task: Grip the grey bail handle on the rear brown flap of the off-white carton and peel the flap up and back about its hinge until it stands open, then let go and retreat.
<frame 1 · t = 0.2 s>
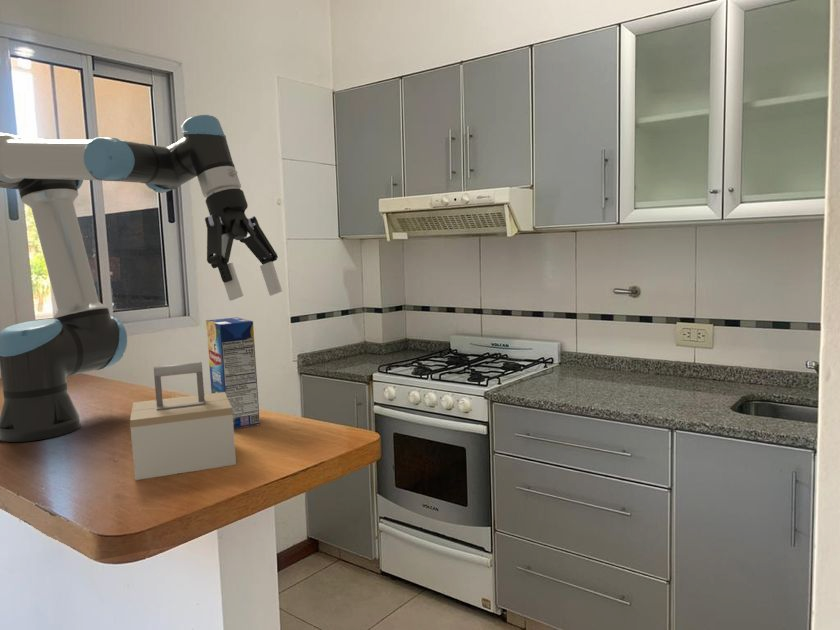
hand: (257, 295, 127), 28 cm above the table, tool tilted 20°, fingers open, 13 cm apart
carton: (185, 459, 115), on the table
rear flap: (179, 384, 117), point 13 cm above the table, hinge at 0.0°
beverage box: (236, 422, 139), on the table
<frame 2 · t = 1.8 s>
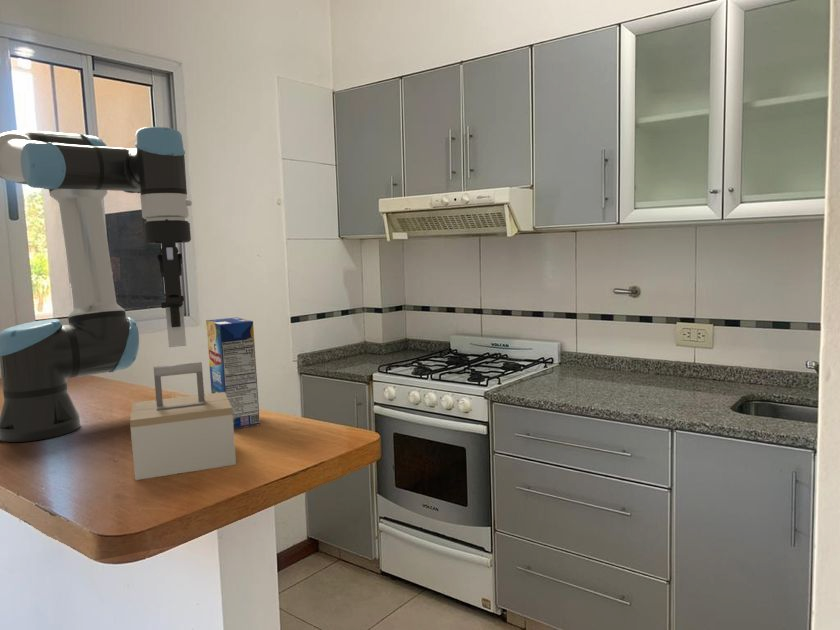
hand: (176, 341, 114), 21 cm above the table, tool pointing down, fingers open, 13 cm apart
nothing on the table moved.
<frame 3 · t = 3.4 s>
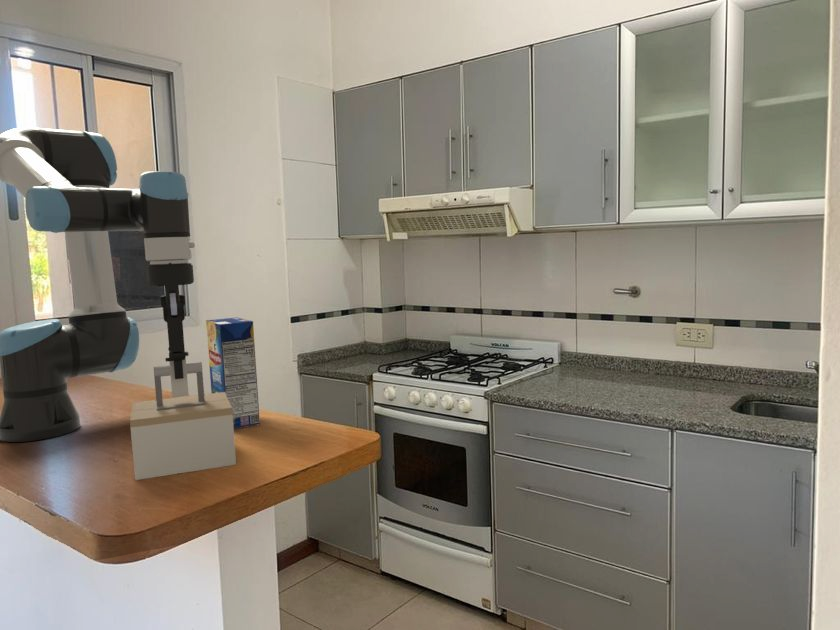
hand: (180, 394, 115), 12 cm above the table, tool pointing down, fingers closed on rear flap, 2 cm apart
rear flap: (179, 384, 117), point 13 cm above the table, hinge at 0.0°, touching gripper
everything else where it was.
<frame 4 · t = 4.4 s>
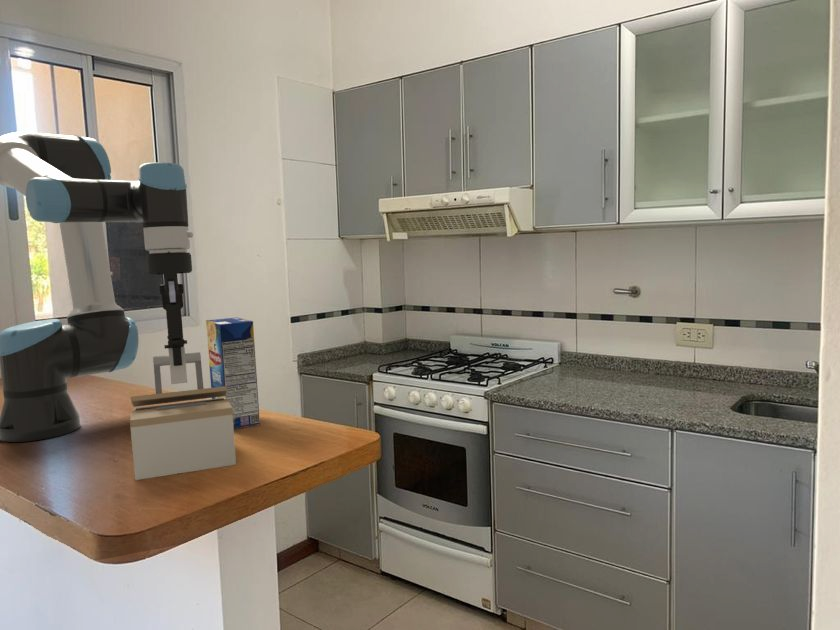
hand: (179, 381, 117), 13 cm above the table, tool pointing down, fingers closed on rear flap, 2 cm apart
rear flap: (178, 377, 118), point 14 cm above the table, hinge at 20.6°, touching gripper
everything else where it was.
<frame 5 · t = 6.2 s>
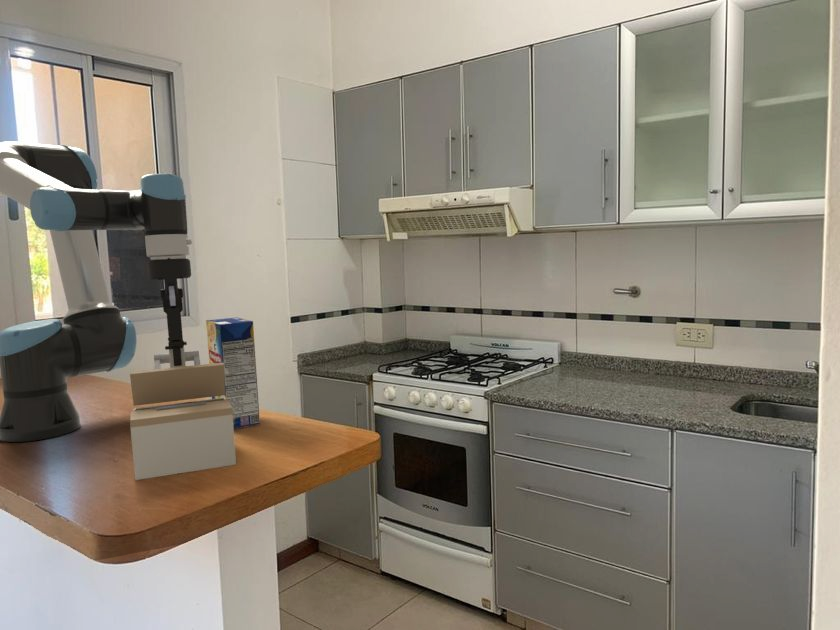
hand: (179, 381, 124), 12 cm above the table, tool pointing down, fingers closed on rear flap, 2 cm apart
rear flap: (178, 374, 122), point 14 cm above the table, hinge at 69.4°, touching gripper
everything else where it was.
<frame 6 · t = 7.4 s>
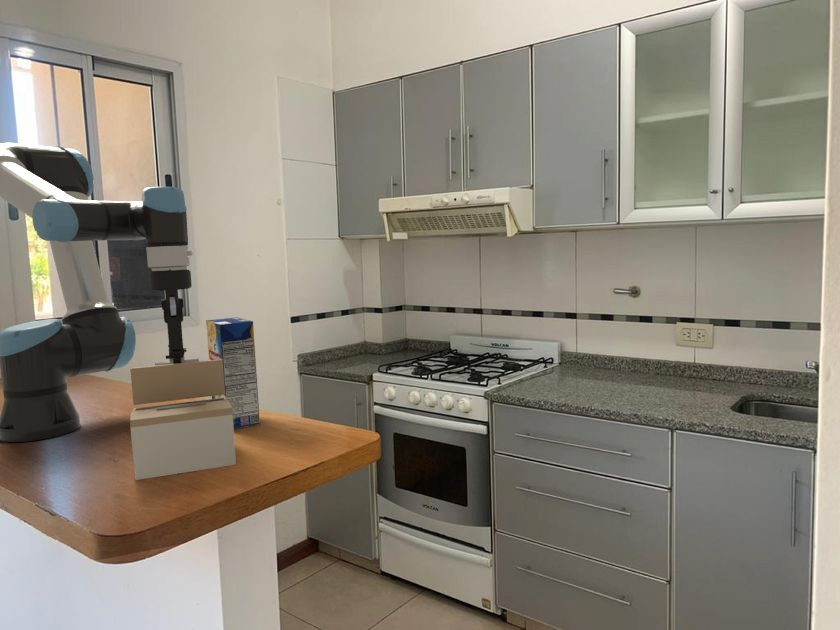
hand: (179, 388, 126), 10 cm above the table, tool pointing down, fingers open, 4 cm apart
rear flap: (178, 378, 123), point 13 cm above the table, hinge at 89.5°
everything else where it was.
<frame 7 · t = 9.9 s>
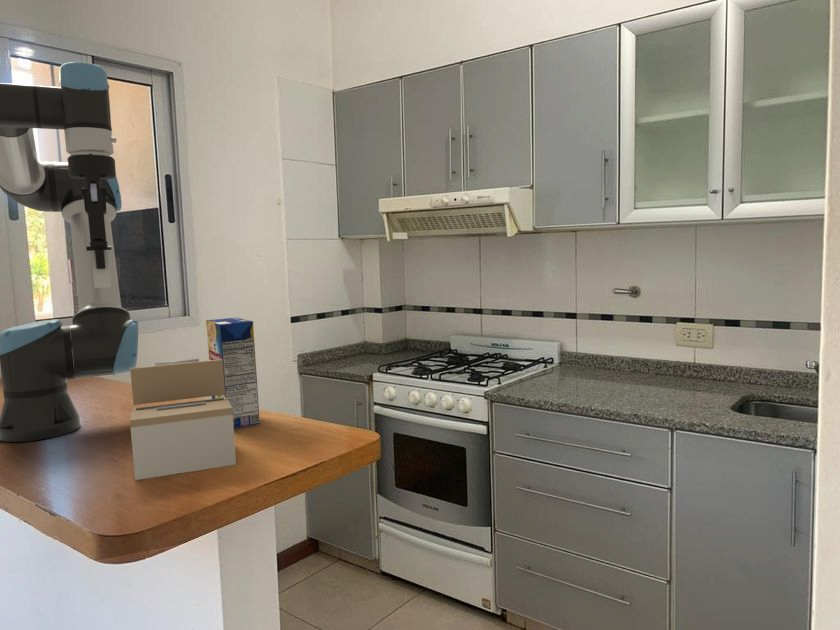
hand: (102, 286, 117), 31 cm above the table, tool pointing down, fingers open, 5 cm apart
nothing on the table moved.
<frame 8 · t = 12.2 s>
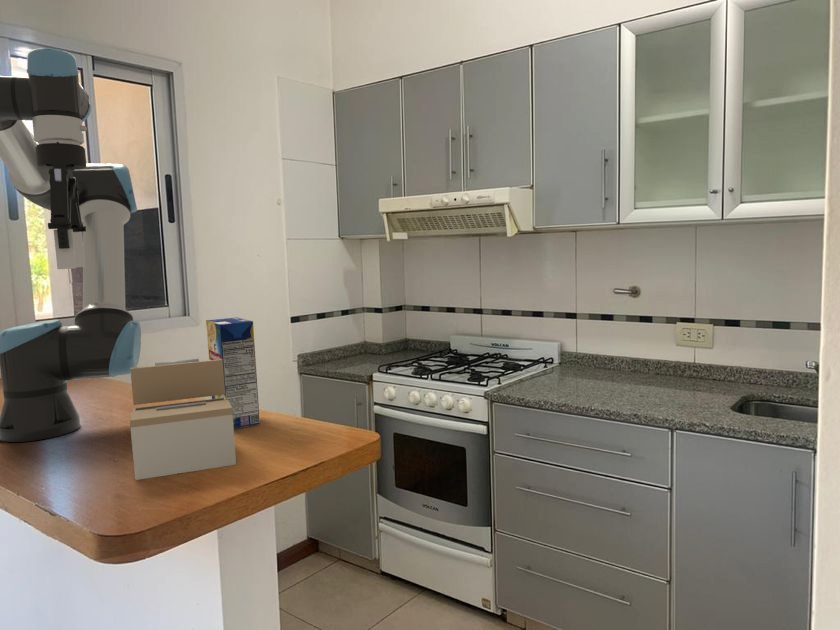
hand: (72, 268, 114), 35 cm above the table, tool pointing down, fingers open, 13 cm apart
nothing on the table moved.
at the end: rear flap at +90° (first picture: +0°); the gripper is holding nothing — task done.
